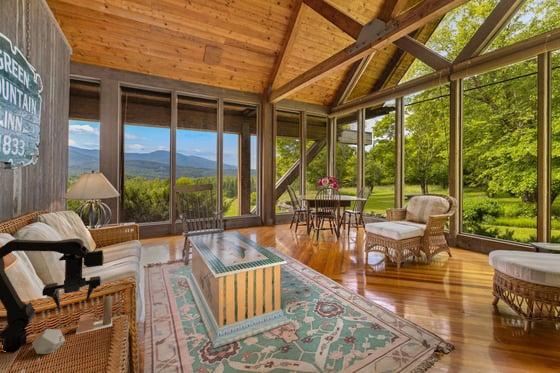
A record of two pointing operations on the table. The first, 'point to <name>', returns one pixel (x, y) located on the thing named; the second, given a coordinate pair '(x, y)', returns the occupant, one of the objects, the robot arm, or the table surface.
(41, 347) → the die
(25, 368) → the table surface
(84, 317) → the cube
